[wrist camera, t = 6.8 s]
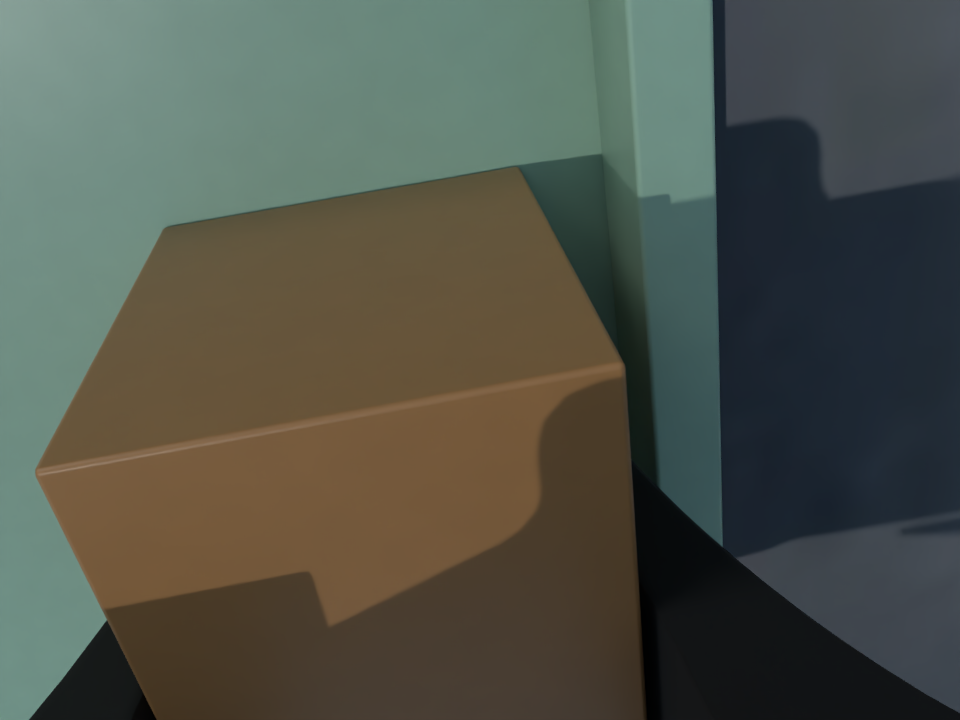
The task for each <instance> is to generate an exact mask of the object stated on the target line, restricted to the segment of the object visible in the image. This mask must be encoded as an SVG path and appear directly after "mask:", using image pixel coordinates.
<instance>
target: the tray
mask: <svg viewBox="0 0 960 720" xmlns="http://www.w3.org/2000/svg"><path fill="white" fill-rule="evenodd" d="M511 167H519V168H520V170H521V172H522V174H523V176H524V178H525V179H526V181H527V183H528V185H529V187H530V189H531V191H532V193H533V194H534V196H535V198H536V200H537V202H538V204H539V206H540V207H541V209H542V211H543V213H544V215H545V217H546V219H547V220H548V222H549V224H550V226H551V228H552V230H553V232H554V234H555V235H556V237H557V239H558V241H559V243H560V245H561V247H562V248H563V250H564V252H565V254H566V256H567V258H568V260H569V261H570V263H571V265H572V267H573V269H574V271H575V273H576V275H577V276H578V278H579V280H580V282H581V284H582V286H583V288H584V289H585V291H586V293H587V295H588V297H589V299H590V301H591V302H592V304H593V306H594V308H595V310H596V312H597V314H598V315H599V317H600V319H601V321H602V323H603V325H604V327H605V329H606V330H607V332H608V334H609V336H610V338H611V340H612V342H613V343H614V345H615V347H616V349H617V351H618V353H619V355H620V356H621V358H622V360H623V362H624V364H625V368H626V384H627V400H628V416H629V432H630V448H631V459H632V460H633V462H634V463H635V464H636V465H637V466H638V467H639V468H640V469H641V470H642V471H643V472H644V473H645V474H646V475H647V476H648V477H649V478H650V479H651V480H652V481H653V482H654V483H655V484H656V485H657V486H658V487H659V488H660V489H661V490H662V491H663V492H664V493H665V494H666V495H667V496H668V497H669V498H670V499H671V500H672V501H673V502H674V503H675V504H676V505H677V506H678V507H679V508H680V509H681V510H682V511H683V512H684V513H685V514H686V515H687V516H689V517H690V518H691V519H692V520H693V521H694V522H695V523H696V524H697V525H698V526H699V527H700V528H702V529H703V530H704V531H705V532H706V533H707V534H708V535H710V536H711V537H712V538H713V539H714V540H715V541H716V542H717V543H719V544H720V545H721V546H722V547H723V534H722V480H721V427H720V374H719V320H718V267H717V213H716V160H715V106H714V53H713V0H0V720H29V719H30V718H31V717H32V715H33V714H34V713H35V712H36V710H37V709H38V708H39V707H40V706H41V704H42V703H43V702H44V701H45V699H46V698H47V697H48V696H49V695H50V693H51V692H52V691H53V690H54V688H55V687H56V686H57V685H58V684H59V682H60V681H61V680H62V679H63V677H64V676H65V675H66V674H67V672H68V671H69V670H70V668H71V667H72V666H73V664H74V663H75V662H76V660H77V659H78V658H79V656H80V655H81V654H82V652H83V651H84V650H85V648H86V647H87V646H88V644H89V643H90V642H91V640H92V639H93V638H94V636H95V635H96V634H97V632H98V631H99V630H100V628H101V627H102V626H103V624H104V623H105V622H106V620H107V619H106V617H105V615H104V613H103V611H102V609H101V607H100V605H99V603H98V601H97V599H96V597H95V595H94V593H93V591H92V589H91V587H90V585H89V583H88V581H87V579H86V577H85V575H84V573H83V571H82V569H81V567H80V565H79V563H78V561H77V559H76V557H75V555H74V552H73V550H72V548H71V546H70V544H69V542H68V540H67V538H66V536H65V534H64V532H63V530H62V528H61V526H60V524H59V522H58V520H57V518H56V516H55V514H54V512H53V510H52V508H51V506H50V504H49V502H48V500H47V498H46V496H45V494H44V492H43V490H42V488H41V486H40V484H39V482H38V480H37V478H36V475H35V469H36V467H37V465H38V463H39V461H40V459H41V457H42V455H43V454H44V452H45V450H46V448H47V446H48V444H49V442H50V440H51V439H52V437H53V435H54V433H55V431H56V429H57V427H58V425H59V424H60V422H61V420H62V418H63V416H64V414H65V412H66V410H67V409H68V407H69V405H70V403H71V401H72V399H73V397H74V395H75V394H76V392H77V390H78V388H79V386H80V384H81V382H82V380H83V379H84V377H85V375H86V373H87V371H88V369H89V367H90V365H91V363H92V362H93V360H94V358H95V356H96V354H97V352H98V350H99V348H100V347H101V345H102V343H103V341H104V339H105V337H106V335H107V333H108V332H109V330H110V328H111V326H112V324H113V322H114V320H115V318H116V317H117V315H118V313H119V311H120V309H121V307H122V305H123V303H124V302H125V300H126V298H127V296H128V294H129V292H130V290H131V288H132V287H133V285H134V283H135V281H136V279H137V277H138V275H139V273H140V272H141V270H142V268H143V266H144V264H145V262H146V260H147V258H148V256H149V255H150V253H151V251H152V249H153V247H154V245H155V243H156V241H157V240H158V238H159V236H160V234H161V232H162V230H163V229H164V228H166V227H172V226H177V225H183V224H189V223H195V222H200V221H206V220H212V219H218V218H223V217H229V216H235V215H241V214H246V213H252V212H258V211H264V210H270V209H275V208H281V207H287V206H293V205H298V204H304V203H310V202H316V201H321V200H327V199H333V198H339V197H344V196H350V195H356V194H362V193H367V192H373V191H379V190H385V189H390V188H396V187H402V186H408V185H413V184H419V183H425V182H431V181H436V180H442V179H448V178H454V177H459V176H465V175H471V174H477V173H482V172H488V171H494V170H500V169H505V168H511Z"/></svg>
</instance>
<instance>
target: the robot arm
mask: <svg viewBox="0 0 960 720" xmlns="http://www.w3.org/2000/svg"><path fill="white" fill-rule="evenodd" d="M631 464H632V480H633V497H634V513H635V529H636V545H637V561H638V577H639V593H640V609H641V625H642V642H643V658H644V674H645V690H646V706H647V720H960V713H958V712H956V711H955V710H953V709H951V708H949V707H948V706H946V705H944V704H942V703H940V702H939V701H937V700H935V699H933V698H931V697H930V696H928V695H926V694H924V693H923V692H921V691H920V690H918V689H917V688H915V687H913V686H912V685H910V684H909V683H907V682H905V681H904V680H902V679H901V678H899V677H897V676H896V675H894V674H893V673H891V672H889V671H888V670H886V669H885V668H883V667H881V666H880V665H878V664H877V663H875V662H874V661H872V660H871V659H869V658H868V657H866V656H865V655H863V654H862V653H860V652H859V651H857V650H856V649H854V648H853V647H851V646H850V645H848V644H847V643H846V642H844V641H843V640H841V639H840V638H838V637H837V636H835V635H834V634H832V633H831V632H830V631H828V630H827V629H825V628H824V627H823V626H821V625H820V624H818V623H817V622H816V621H814V620H813V619H812V618H810V617H809V616H808V615H806V614H805V613H804V612H802V611H801V610H800V609H798V608H797V607H796V606H794V605H793V604H792V603H790V602H789V601H788V600H787V599H785V598H784V597H783V596H781V595H780V594H779V593H778V592H776V591H775V590H774V589H772V588H771V587H770V586H769V585H767V584H766V583H765V582H764V581H762V580H761V579H760V578H759V577H757V576H756V575H755V574H754V573H752V572H751V571H750V570H749V569H748V568H746V567H745V566H744V565H743V564H742V563H740V562H739V561H738V560H737V559H736V558H735V557H733V556H732V555H731V554H730V553H729V552H728V551H727V550H725V549H724V548H723V547H722V546H721V545H720V544H719V543H717V542H716V541H715V540H714V539H713V538H712V537H711V536H710V535H708V534H707V533H706V532H705V531H704V530H703V529H702V528H700V527H699V526H698V525H697V524H696V523H695V522H694V521H693V520H692V519H691V518H690V517H689V516H687V515H686V514H685V513H684V512H683V511H682V510H681V509H680V508H679V507H678V506H677V505H676V504H675V503H674V502H673V501H672V500H671V499H670V498H669V497H668V496H667V495H666V494H665V493H664V492H663V491H662V490H661V489H660V488H659V487H658V486H657V485H656V484H655V483H654V482H653V481H652V480H651V479H650V478H649V477H648V476H647V475H646V474H645V473H644V472H643V471H642V470H641V469H640V468H639V467H638V466H637V465H636V464H635V463H634V462H633V460H632V459H631ZM29 720H157V719H156V717H155V715H154V713H153V711H152V709H151V707H150V705H149V703H148V701H147V699H146V697H145V695H144V693H143V691H142V689H141V687H140V685H139V683H138V681H137V679H136V677H135V675H134V673H133V671H132V669H131V667H130V665H129V663H128V661H127V659H126V657H125V655H124V653H123V651H122V649H121V647H120V645H119V643H118V641H117V639H116V637H115V635H114V633H113V631H112V629H111V627H110V625H109V623H108V621H107V620H106V622H105V623H104V624H103V626H102V627H101V628H100V630H99V631H98V632H97V634H96V635H95V636H94V638H93V639H92V640H91V642H90V643H89V644H88V646H87V647H86V648H85V650H84V651H83V652H82V654H81V655H80V656H79V658H78V659H77V660H76V662H75V663H74V664H73V666H72V667H71V668H70V670H69V671H68V672H67V674H66V675H65V676H64V677H63V679H62V680H61V681H60V682H59V684H58V685H57V686H56V687H55V688H54V690H53V691H52V692H51V693H50V695H49V696H48V697H47V698H46V699H45V701H44V702H43V703H42V704H41V706H40V707H39V708H38V709H37V710H36V712H35V713H34V714H33V715H32V717H31V718H30V719H29Z"/></svg>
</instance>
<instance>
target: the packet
mask: <svg viewBox="0 0 960 720" xmlns="http://www.w3.org/2000/svg"><path fill="white" fill-rule="evenodd" d="M35 475H36V478H37V480H38V482H39V484H40V486H41V488H42V490H43V492H44V494H45V496H46V498H47V500H48V502H49V504H50V506H51V508H52V510H53V512H54V514H55V516H56V518H57V520H58V522H59V524H60V526H61V528H62V530H63V532H64V534H65V536H66V538H67V540H68V542H69V544H70V546H71V548H72V550H73V552H74V555H75V557H76V559H77V561H78V563H79V565H80V567H81V569H82V571H83V573H84V575H85V577H86V579H87V581H88V583H89V585H90V587H91V589H92V591H93V593H94V595H95V597H96V599H97V601H98V603H99V605H100V607H101V609H102V611H103V613H104V615H105V617H106V619H107V621H108V623H109V625H110V627H111V629H112V631H113V633H114V635H115V637H116V639H117V641H118V643H119V645H120V647H121V649H122V651H123V653H124V655H125V657H126V659H127V661H128V663H129V665H130V667H131V669H132V671H133V673H134V675H135V677H136V679H137V681H138V683H139V685H140V687H141V689H142V691H143V693H144V695H145V697H146V699H147V701H148V703H149V705H150V707H151V709H152V711H153V713H154V715H155V717H156V719H157V720H647V706H646V690H645V674H644V658H643V642H642V625H641V609H640V593H639V577H638V561H637V545H636V529H635V513H634V497H633V480H632V464H631V448H630V432H629V416H628V400H627V384H626V368H625V364H624V362H623V360H622V358H621V356H620V355H619V353H618V351H617V349H616V347H615V345H614V343H613V342H612V340H611V338H610V336H609V334H608V332H607V330H606V329H605V327H604V325H603V323H602V321H601V319H600V317H599V315H598V314H597V312H596V310H595V308H594V306H593V304H592V302H591V301H590V299H589V297H588V295H587V293H586V291H585V289H584V288H583V286H582V284H581V282H580V280H579V278H578V276H577V275H576V273H575V271H574V269H573V267H572V265H571V263H570V261H569V260H568V258H567V256H566V254H565V252H564V250H563V248H562V247H561V245H560V243H559V241H558V239H557V237H556V235H555V234H554V232H553V230H552V228H551V226H550V224H549V222H548V220H547V219H546V217H545V215H544V213H543V211H542V209H541V207H540V206H539V204H538V202H537V200H536V198H535V196H534V194H533V193H532V191H531V189H530V187H529V185H528V183H527V181H526V179H525V178H524V176H523V174H522V172H521V170H520V168H519V167H511V168H505V169H500V170H494V171H488V172H482V173H477V174H471V175H465V176H459V177H454V178H448V179H442V180H436V181H431V182H425V183H419V184H413V185H408V186H402V187H396V188H390V189H385V190H379V191H373V192H367V193H362V194H356V195H350V196H344V197H339V198H333V199H327V200H321V201H316V202H310V203H304V204H298V205H293V206H287V207H281V208H275V209H270V210H264V211H258V212H252V213H246V214H241V215H235V216H229V217H223V218H218V219H212V220H206V221H200V222H195V223H189V224H183V225H177V226H172V227H166V228H164V229H163V230H162V232H161V234H160V236H159V238H158V240H157V241H156V243H155V245H154V247H153V249H152V251H151V253H150V255H149V256H148V258H147V260H146V262H145V264H144V266H143V268H142V270H141V272H140V273H139V275H138V277H137V279H136V281H135V283H134V285H133V287H132V288H131V290H130V292H129V294H128V296H127V298H126V300H125V302H124V303H123V305H122V307H121V309H120V311H119V313H118V315H117V317H116V318H115V320H114V322H113V324H112V326H111V328H110V330H109V332H108V333H107V335H106V337H105V339H104V341H103V343H102V345H101V347H100V348H99V350H98V352H97V354H96V356H95V358H94V360H93V362H92V363H91V365H90V367H89V369H88V371H87V373H86V375H85V377H84V379H83V380H82V382H81V384H80V386H79V388H78V390H77V392H76V394H75V395H74V397H73V399H72V401H71V403H70V405H69V407H68V409H67V410H66V412H65V414H64V416H63V418H62V420H61V422H60V424H59V425H58V427H57V429H56V431H55V433H54V435H53V437H52V439H51V440H50V442H49V444H48V446H47V448H46V450H45V452H44V454H43V455H42V457H41V459H40V461H39V463H38V465H37V467H36V469H35Z"/></svg>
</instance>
